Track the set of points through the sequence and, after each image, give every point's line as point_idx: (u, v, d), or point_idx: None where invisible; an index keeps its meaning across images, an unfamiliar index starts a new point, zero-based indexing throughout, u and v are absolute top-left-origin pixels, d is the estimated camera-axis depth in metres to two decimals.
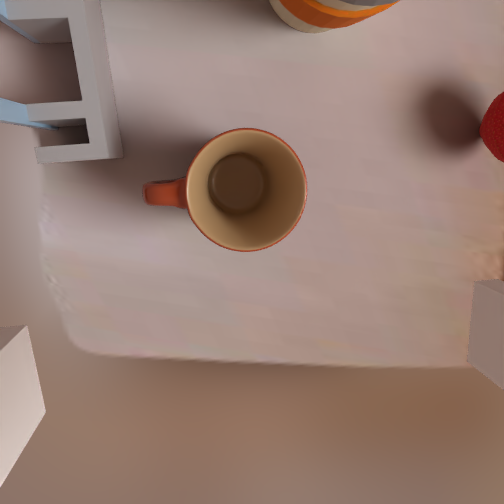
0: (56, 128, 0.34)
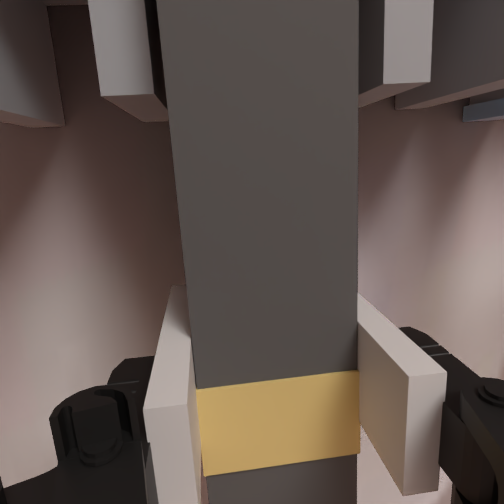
0: None
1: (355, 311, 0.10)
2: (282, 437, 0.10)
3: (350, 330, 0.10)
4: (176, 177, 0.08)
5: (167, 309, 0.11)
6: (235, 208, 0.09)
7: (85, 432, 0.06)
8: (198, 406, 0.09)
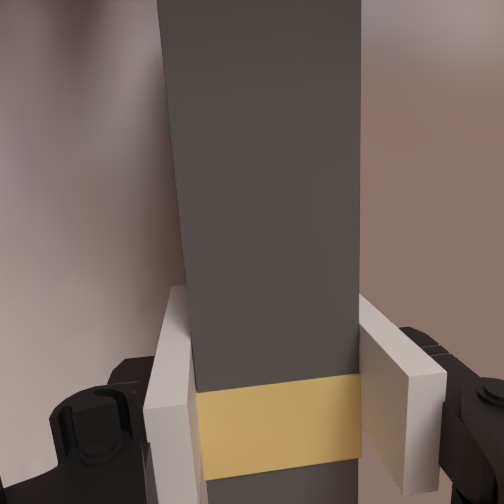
0: None
1: (357, 314, 0.09)
2: (283, 442, 0.10)
3: (351, 334, 0.10)
4: (176, 179, 0.08)
5: (167, 309, 0.11)
6: (236, 211, 0.08)
7: (86, 432, 0.06)
8: (198, 410, 0.09)
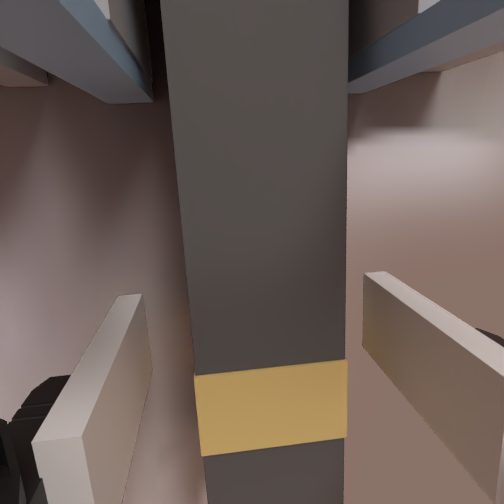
0: None
1: (343, 305, 0.10)
2: (274, 422, 0.11)
3: (338, 323, 0.10)
4: (178, 179, 0.09)
5: (103, 322, 0.10)
6: (233, 209, 0.09)
7: None
8: (196, 391, 0.10)
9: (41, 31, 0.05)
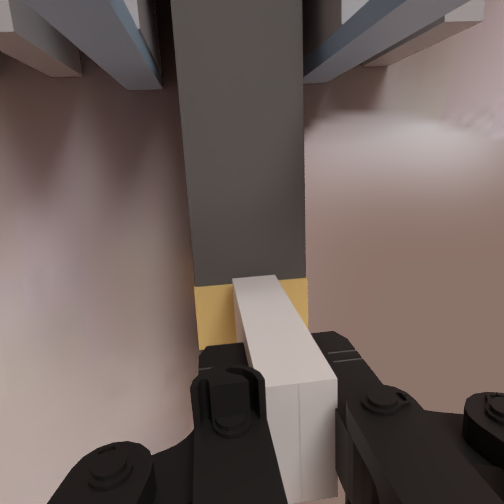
0: None
1: (304, 235, 0.14)
2: None
3: (300, 249, 0.14)
4: (183, 139, 0.13)
5: (238, 299, 0.11)
6: (222, 162, 0.13)
7: (219, 406, 0.06)
8: (196, 298, 0.14)
9: (104, 37, 0.09)
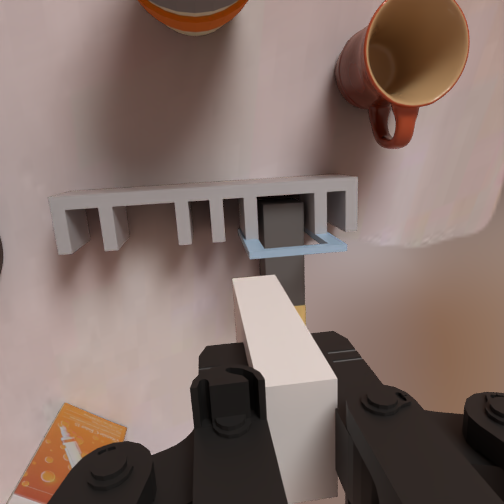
0: None
1: (304, 291, 0.41)
2: None
3: (302, 295, 0.41)
4: (265, 262, 0.40)
5: (238, 299, 0.11)
6: (277, 268, 0.40)
7: (219, 405, 0.06)
8: None
9: None
